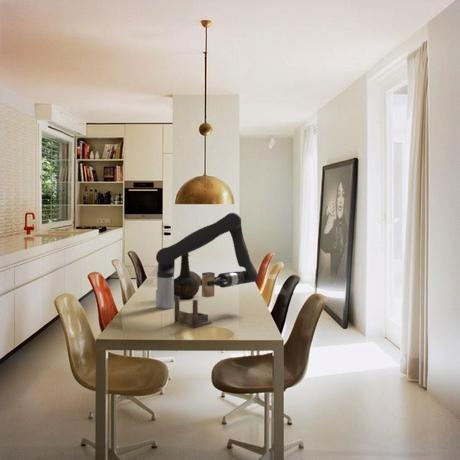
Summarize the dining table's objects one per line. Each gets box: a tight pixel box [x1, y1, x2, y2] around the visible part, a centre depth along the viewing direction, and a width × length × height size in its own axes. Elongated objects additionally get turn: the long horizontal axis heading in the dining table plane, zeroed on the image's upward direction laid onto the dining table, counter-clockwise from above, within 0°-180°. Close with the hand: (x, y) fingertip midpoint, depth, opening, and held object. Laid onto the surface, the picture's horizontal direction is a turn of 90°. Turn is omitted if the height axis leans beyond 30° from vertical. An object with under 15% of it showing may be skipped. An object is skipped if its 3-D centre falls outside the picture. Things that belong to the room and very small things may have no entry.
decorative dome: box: [177, 270, 202, 287], centre depth 376 cm, size 19×20×10 cm
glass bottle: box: [174, 253, 200, 299], centre depth 331 cm, size 18×18×28 cm
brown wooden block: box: [201, 271, 216, 298], centre depth 274 cm, size 4×5×12 cm
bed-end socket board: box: [173, 295, 213, 329], centre depth 264 cm, size 15×12×13 cm
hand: (204, 283), depth 272 cm, fingers closed on brown wooden block, 4 cm apart
